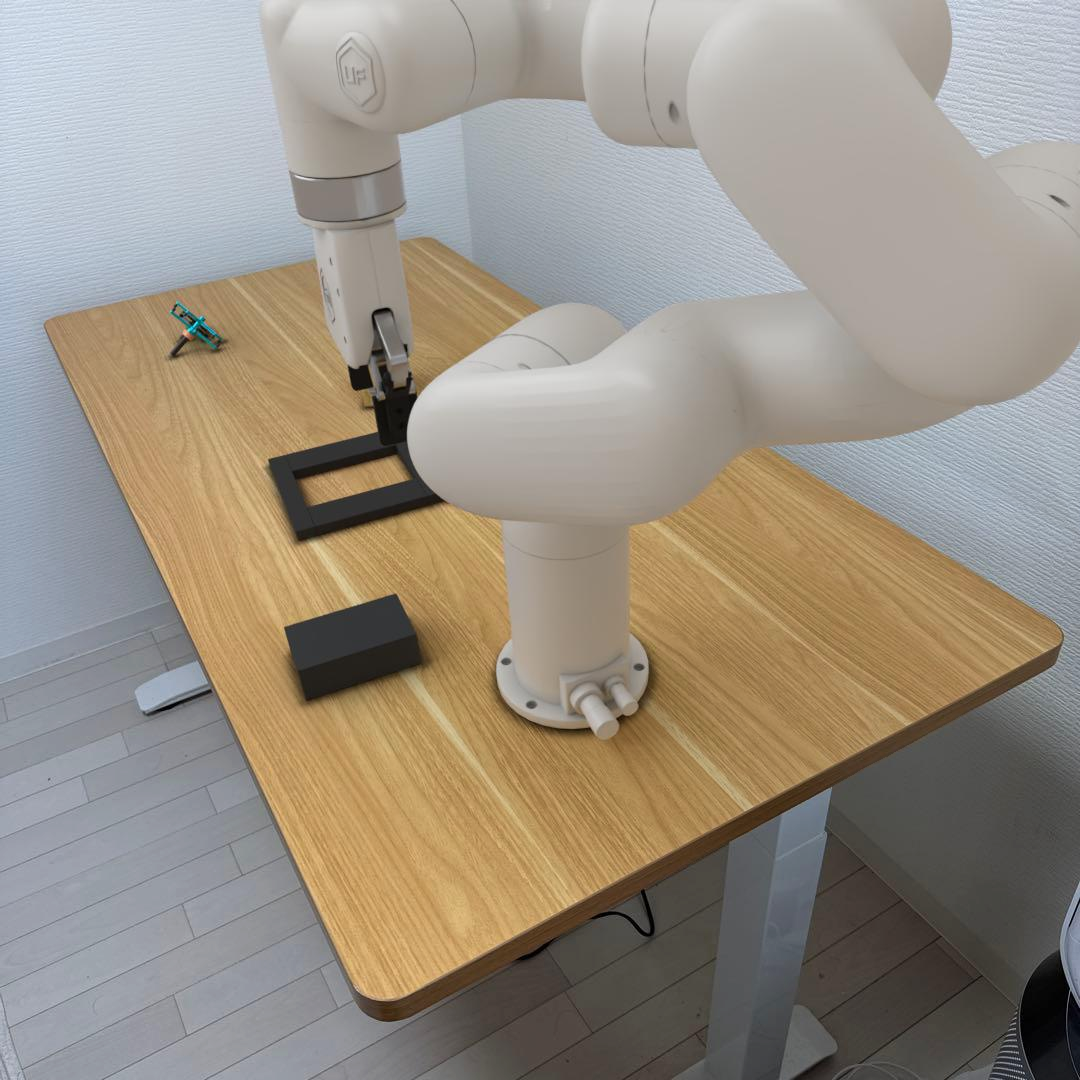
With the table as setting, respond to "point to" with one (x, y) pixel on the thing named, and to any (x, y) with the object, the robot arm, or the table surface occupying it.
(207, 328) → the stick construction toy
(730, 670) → the table surface
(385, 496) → the black rectangular frame
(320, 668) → the loose black block
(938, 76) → the robot arm
